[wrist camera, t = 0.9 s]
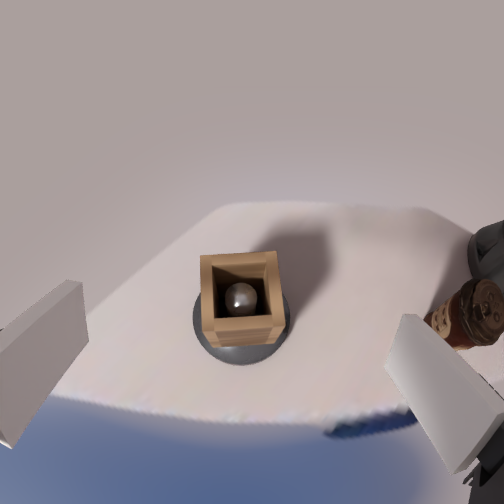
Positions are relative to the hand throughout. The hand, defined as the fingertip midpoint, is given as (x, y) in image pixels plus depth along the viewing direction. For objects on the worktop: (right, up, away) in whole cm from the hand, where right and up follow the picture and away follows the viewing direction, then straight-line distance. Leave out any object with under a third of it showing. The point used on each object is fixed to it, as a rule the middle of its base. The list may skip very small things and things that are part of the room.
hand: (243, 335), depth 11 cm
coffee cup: (+27, -9, +26) cm, 39 cm away
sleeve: (-1, -5, +26) cm, 26 cm away
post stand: (-1, -5, +27) cm, 27 cm away
